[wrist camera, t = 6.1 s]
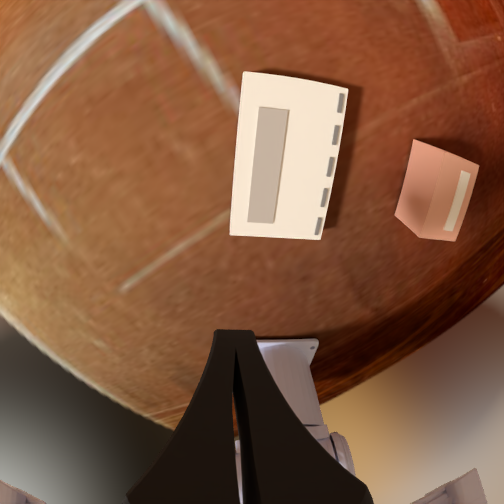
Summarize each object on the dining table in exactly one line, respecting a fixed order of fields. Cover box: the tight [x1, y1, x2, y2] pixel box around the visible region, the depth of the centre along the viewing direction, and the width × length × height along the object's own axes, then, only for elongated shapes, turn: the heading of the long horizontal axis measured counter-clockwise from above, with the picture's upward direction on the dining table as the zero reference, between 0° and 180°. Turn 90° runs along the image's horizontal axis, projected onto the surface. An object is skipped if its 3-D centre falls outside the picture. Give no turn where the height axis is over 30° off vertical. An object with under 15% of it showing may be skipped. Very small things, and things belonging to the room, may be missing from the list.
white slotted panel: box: [230, 72, 348, 240], centre depth 16 cm, size 10×6×1 cm, turn 175°
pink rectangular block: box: [395, 139, 479, 241], centre depth 16 cm, size 6×4×4 cm, turn 175°
